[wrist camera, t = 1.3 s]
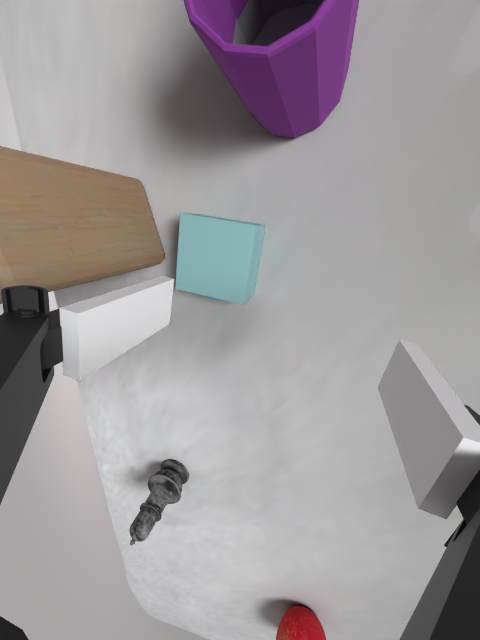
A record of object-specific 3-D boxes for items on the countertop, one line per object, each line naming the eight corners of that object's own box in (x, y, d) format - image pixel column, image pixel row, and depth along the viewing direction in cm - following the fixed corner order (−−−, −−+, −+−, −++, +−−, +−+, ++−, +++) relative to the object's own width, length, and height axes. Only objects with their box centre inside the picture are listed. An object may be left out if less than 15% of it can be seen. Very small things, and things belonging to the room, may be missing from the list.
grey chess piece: (159, 478, 49) (113, 551, 38) (159, 453, 47) (110, 522, 36) (190, 489, 48) (150, 567, 37) (191, 464, 46) (149, 538, 35)
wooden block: (109, 276, 39) (-82, 324, 20) (81, 202, 36) (-165, 180, 18) (170, 260, 35) (6, 300, 17) (144, 177, 33) (-81, 118, 15)
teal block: (200, 214, 32) (180, 212, 28) (266, 225, 31) (256, 225, 26) (194, 280, 35) (175, 288, 31) (254, 293, 34) (243, 304, 29)
